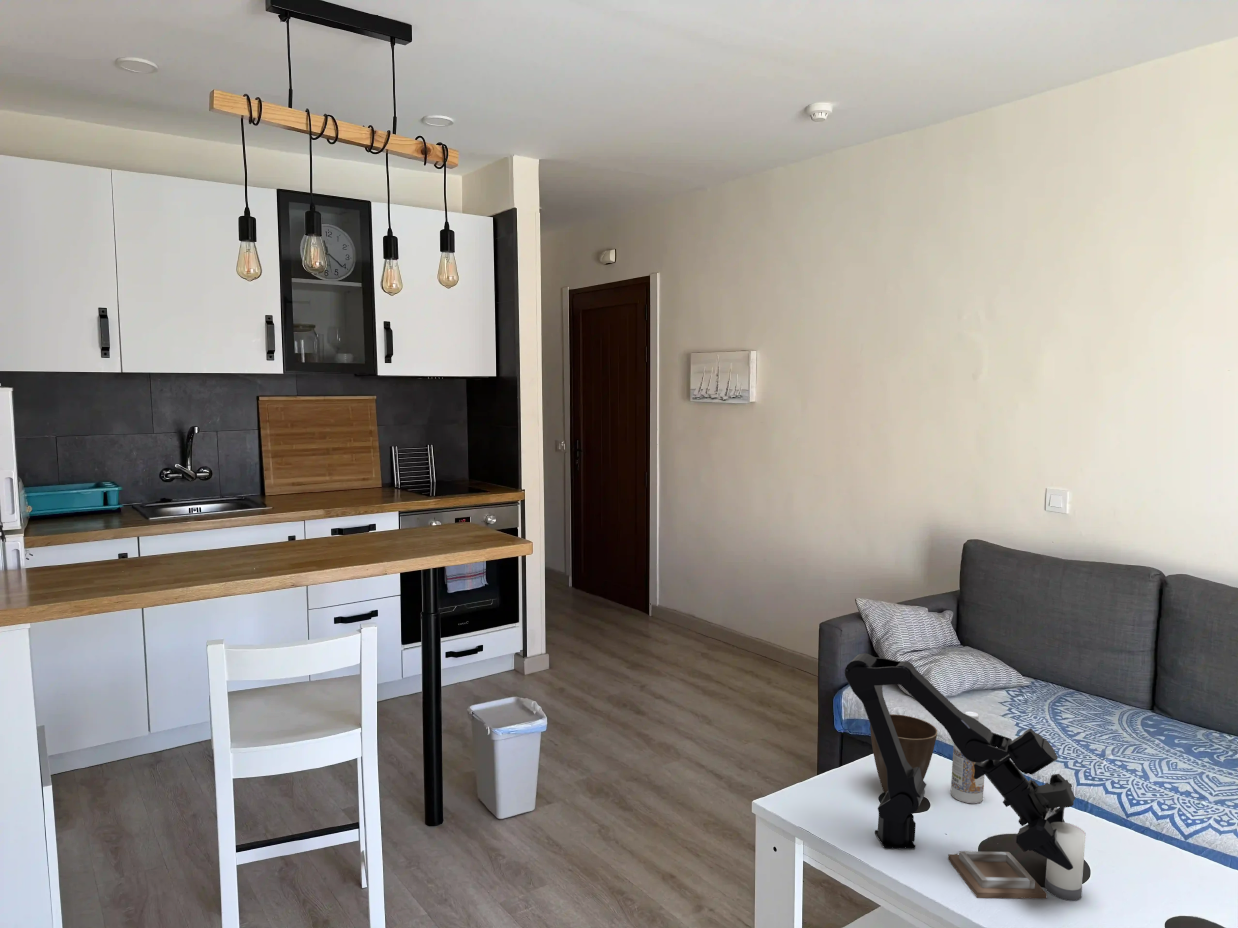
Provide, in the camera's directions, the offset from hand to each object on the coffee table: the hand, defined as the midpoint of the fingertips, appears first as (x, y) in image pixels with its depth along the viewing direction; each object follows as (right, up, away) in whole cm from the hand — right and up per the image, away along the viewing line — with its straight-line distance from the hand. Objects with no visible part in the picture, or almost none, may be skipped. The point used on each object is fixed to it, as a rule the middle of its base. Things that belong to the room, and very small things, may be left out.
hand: (1073, 859), depth 156 cm
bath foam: (-4, -4, +38) cm, 39 cm away
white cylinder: (-1, -6, +1) cm, 7 cm away
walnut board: (-12, -6, +5) cm, 15 cm away
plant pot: (-19, -3, +40) cm, 44 cm away
